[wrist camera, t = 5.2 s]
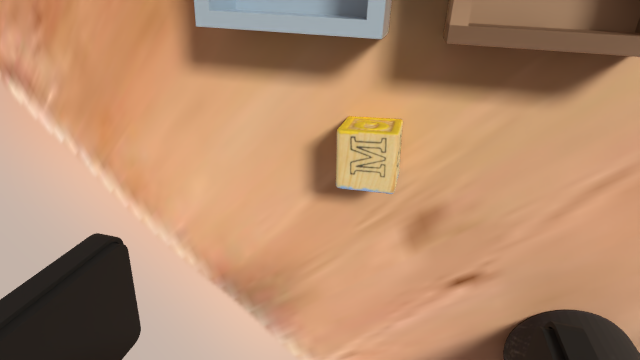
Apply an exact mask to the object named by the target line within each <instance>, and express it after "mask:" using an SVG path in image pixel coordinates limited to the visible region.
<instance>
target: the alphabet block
mask: <svg viewBox="0 0 640 360" xmlns="http://www.w3.org/2000/svg"><path fill="white" fill-rule="evenodd" d="M402 125H403V121H402V120H401V119H390V118H369V117H352V116H349V117H347V119H346V120H345V121H344V122H343V124H342V125H341V126H340V127H339V128H338V130H337V156H336V187H337V188H341V189H349V190H360V191H369V192H379V193H387V194H393V193H394V192H395V188H396V183H397V178H398V174H399V164H400V151H401V137H402Z"/></svg>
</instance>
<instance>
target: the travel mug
mask: <svg viewBox="0 0 640 360" xmlns="http://www.w3.org/2000/svg"><path fill="white" fill-rule="evenodd" d="M549 321H552V322H558V323H563V324H568V325H573V326H578V327H581V328H582V329H583V330H584V331H585V333H586V334H587V336H588V338H589V341H590V343H591V345H592V347H593V349H594V351H595V353H596V355H597V357H598V359H599V360H640V353H639V352H638V350H637V349H636V347H635V346H634V344H633V343H632V341H631V340H630V339H629V337H628V336H627V335H626V334H625V333H624V332H623V331H622V330H621V329H620V328H619V327H618V326H617V325H615V324H614V323H612V322H611V321H609V320H607V319H605V318H603V317H601V316H599V315H596V314H593V313H589V312H584V311H577V310H556V311H550V312H545V313H541V314H538V315H536V316H533V317H531V318H529V319H527V320H525V321H524V322H522V323H521V324H519V325H518V326H517V327H516V328H515V329H514V330H513V331H512V332H511V333H510V335H509V337H508V338H507V340H506V343H505V347H504V360H524V358H525V355H526V352H527V349H528V347H529V344H530V341H531V339H532V336H533V333H534V331H535V329H536V328H537V327H539V326H540V327H545V325H546V323H547V322H549Z"/></svg>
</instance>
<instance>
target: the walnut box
mask: <svg viewBox="0 0 640 360" xmlns="http://www.w3.org/2000/svg"><path fill="white" fill-rule="evenodd" d="M443 38H444V39H445V41H446V43H447V44H460V45H475V46H489V47H504V48H519V49H533V50H548V51H562V52H577V53H592V54H606V55H621V56H635V57H640V0H449V3H448V9H447V15H446V22H445V28H444V34H443Z"/></svg>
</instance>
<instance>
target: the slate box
mask: <svg viewBox="0 0 640 360" xmlns="http://www.w3.org/2000/svg"><path fill="white" fill-rule="evenodd" d="M391 5H392V0H194V7H195V20H196V26H197V27H212V28H227V29H241V30H256V31H270V32H285V33H300V34H314V35H329V36H343V37H358V38H373V39H383V38H384V37H385V36H386V35H387V34H388V32H389V23H390V14H391Z"/></svg>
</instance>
